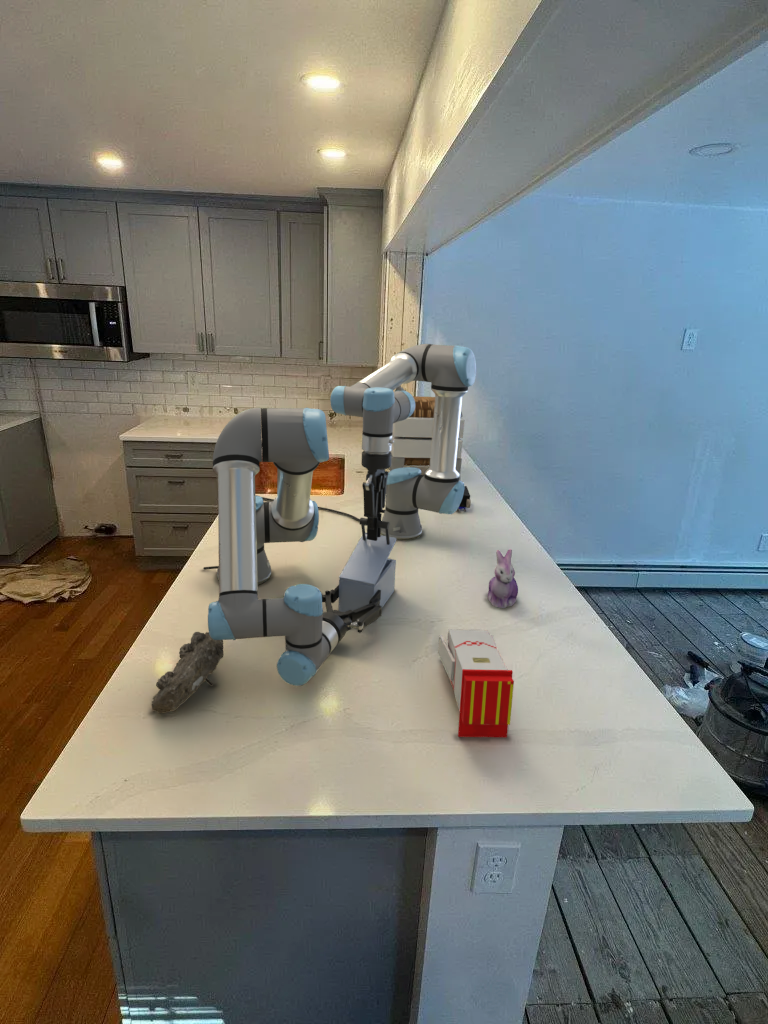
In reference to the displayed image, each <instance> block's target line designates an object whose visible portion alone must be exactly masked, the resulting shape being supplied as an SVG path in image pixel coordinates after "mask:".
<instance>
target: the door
mask: <svg viewBox="0 0 768 1024" xmlns="http://www.w3.org/2000/svg"><path fill="white" fill-rule="evenodd" d="M359 519H360V521H358V523H359V524H358V525H360V526H361V536H360V537H359V540H358V542H357V543H356V545H355V547H354V549H353V551H352V552H351V554H350V556H349V558H348V560H347V561H346V563H345V565H344V567H343V569H342V570H341V573H340V574H339V576H338V580H339V579H341V580H346V581H351V582H356V583H361V584H366V585H371V586H375V584H376V582H377V580H378V578H379V576H380V574H381V572H382V569H383V567H384V565H385V563H386V561H387V559H389V557H390V555H391V553H392V551H393V549H394V546H395V545H396V543H397V541H398V540H397V539H396V538H394V537H389V526H390V523H389V522H385V521H382V520H381V521H379V520H378V528H383V529H385V530H386V536H383V535H381V537H377V541H374V540H368V539H367V532H366V527H367V517H360V518H359Z"/></svg>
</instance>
